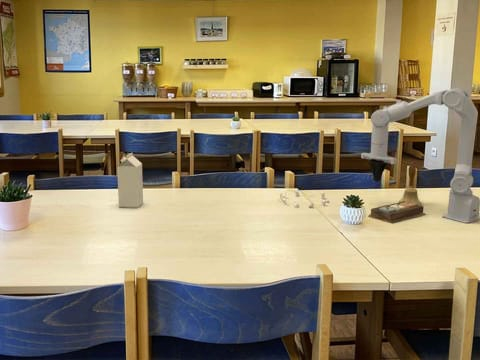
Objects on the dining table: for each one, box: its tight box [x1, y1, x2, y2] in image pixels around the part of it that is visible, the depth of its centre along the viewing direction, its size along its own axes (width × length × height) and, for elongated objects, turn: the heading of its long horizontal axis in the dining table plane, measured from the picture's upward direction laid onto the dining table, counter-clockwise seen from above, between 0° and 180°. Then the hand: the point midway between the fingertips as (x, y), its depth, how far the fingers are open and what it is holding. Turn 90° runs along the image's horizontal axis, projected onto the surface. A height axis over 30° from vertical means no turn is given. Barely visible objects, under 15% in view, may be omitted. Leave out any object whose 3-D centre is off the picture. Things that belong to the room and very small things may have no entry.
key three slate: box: [379, 207, 396, 213], centre depth 186 cm, size 4×4×3 cm
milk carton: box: [116, 152, 144, 209], centre depth 198 cm, size 7×7×19 cm
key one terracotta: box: [399, 202, 416, 208], centre depth 193 cm, size 4×4×3 cm
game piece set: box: [277, 188, 330, 209], centre depth 208 cm, size 19×20×4 cm
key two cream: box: [389, 204, 406, 211], centre depth 189 cm, size 4×4×3 cm
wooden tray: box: [368, 201, 426, 224], centre depth 189 cm, size 10×18×3 cm, turn 127°
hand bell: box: [398, 161, 422, 206], centre depth 205 cm, size 8×8×16 cm
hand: (377, 180), depth 199 cm, fingers closed
